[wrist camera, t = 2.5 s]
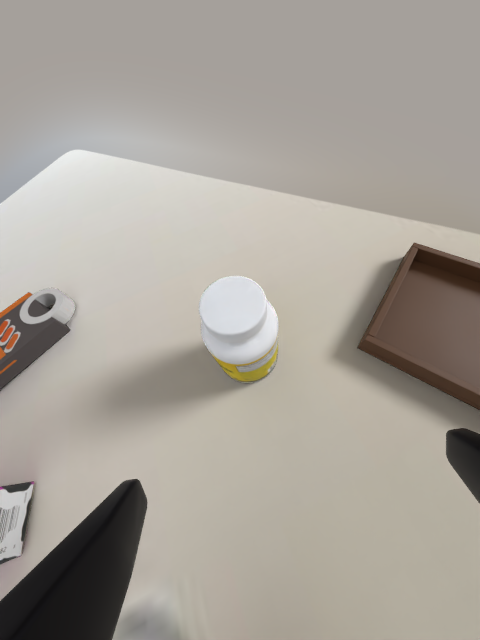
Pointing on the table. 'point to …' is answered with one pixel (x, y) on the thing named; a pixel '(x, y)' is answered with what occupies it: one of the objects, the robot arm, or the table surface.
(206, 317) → the supplement bottle
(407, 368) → the tray
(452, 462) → the robot arm
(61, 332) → the electronic device
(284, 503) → the table surface
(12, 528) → the candy bar box
